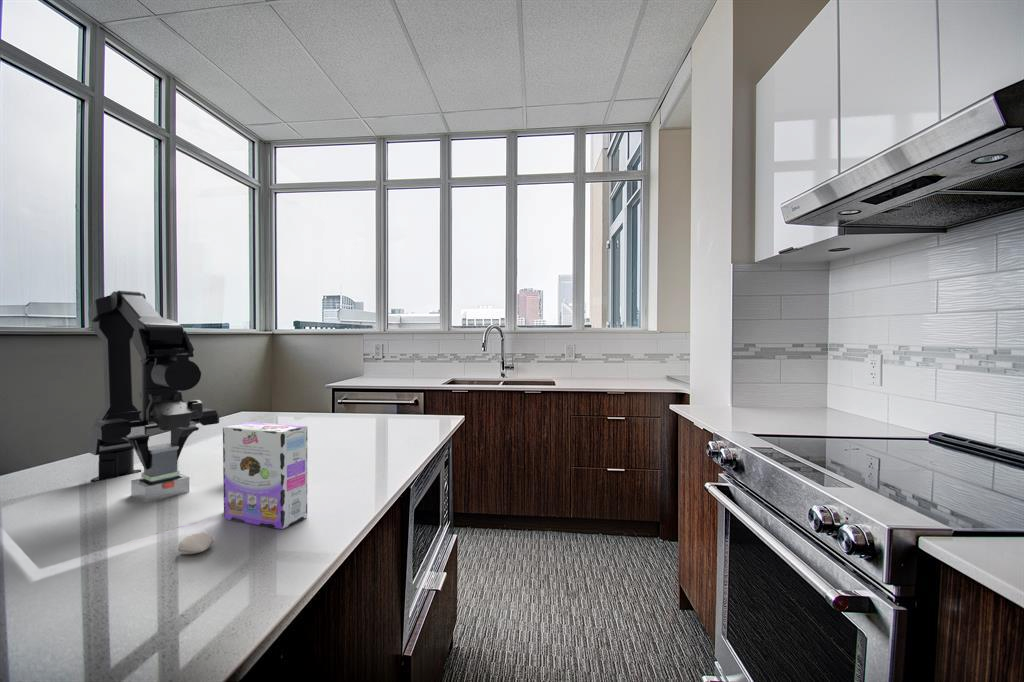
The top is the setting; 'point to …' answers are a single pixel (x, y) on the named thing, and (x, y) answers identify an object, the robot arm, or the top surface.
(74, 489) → the top surface
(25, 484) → the top surface
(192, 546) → the white rounded lump
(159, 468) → the column
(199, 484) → the top surface
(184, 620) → the top surface
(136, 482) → the stand base
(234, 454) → the candy box
